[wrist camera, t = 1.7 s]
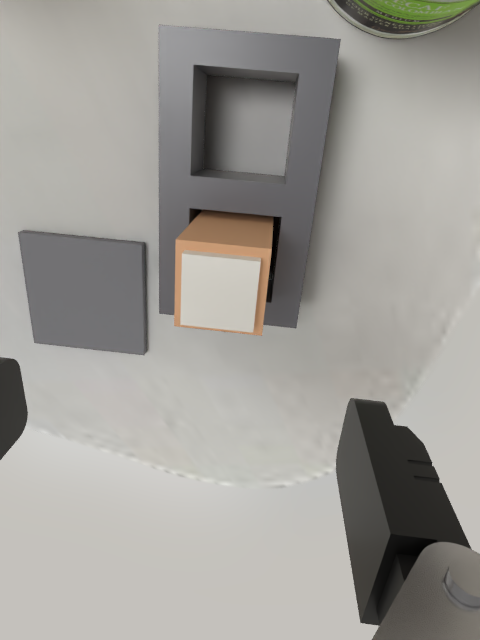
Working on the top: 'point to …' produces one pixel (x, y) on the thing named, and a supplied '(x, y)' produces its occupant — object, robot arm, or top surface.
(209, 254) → the plug
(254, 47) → the grey block holder
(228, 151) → the top surface
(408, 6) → the coffee can
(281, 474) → the top surface
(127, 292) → the mat
